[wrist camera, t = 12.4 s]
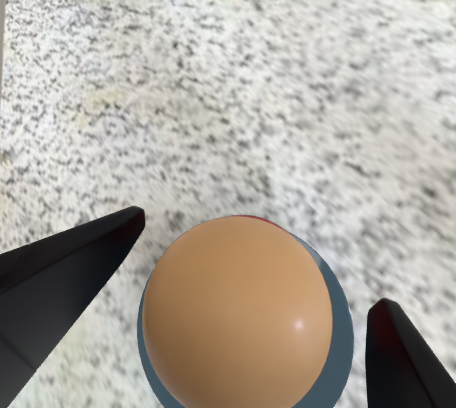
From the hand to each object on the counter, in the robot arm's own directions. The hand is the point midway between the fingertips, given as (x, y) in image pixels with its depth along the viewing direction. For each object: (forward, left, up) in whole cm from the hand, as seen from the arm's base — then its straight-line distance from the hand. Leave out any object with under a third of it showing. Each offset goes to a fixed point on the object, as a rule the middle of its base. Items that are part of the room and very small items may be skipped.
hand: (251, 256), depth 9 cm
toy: (-1, 0, -8) cm, 8 cm away
